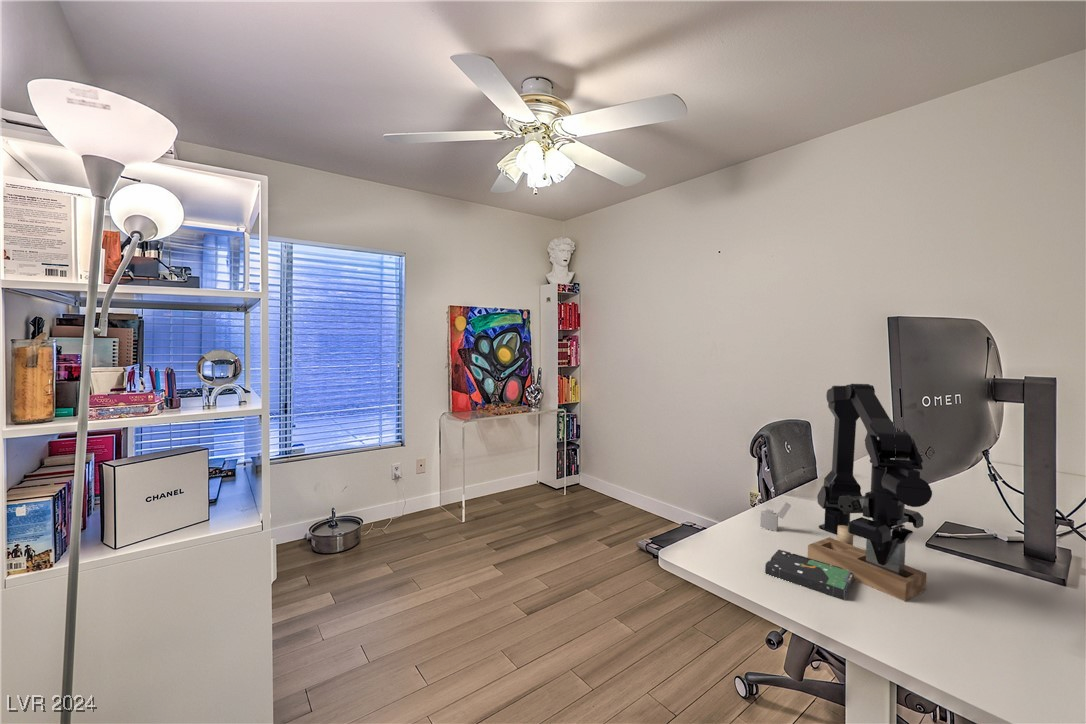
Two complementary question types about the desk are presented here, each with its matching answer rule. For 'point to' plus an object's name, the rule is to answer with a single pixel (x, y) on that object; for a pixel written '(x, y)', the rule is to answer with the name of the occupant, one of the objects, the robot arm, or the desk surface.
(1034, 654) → the desk surface
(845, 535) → the round dowel
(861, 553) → the socket board
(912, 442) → the robot arm
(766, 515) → the lighter
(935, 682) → the desk surface
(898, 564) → the tall grey rectangular prism
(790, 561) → the disk drive
